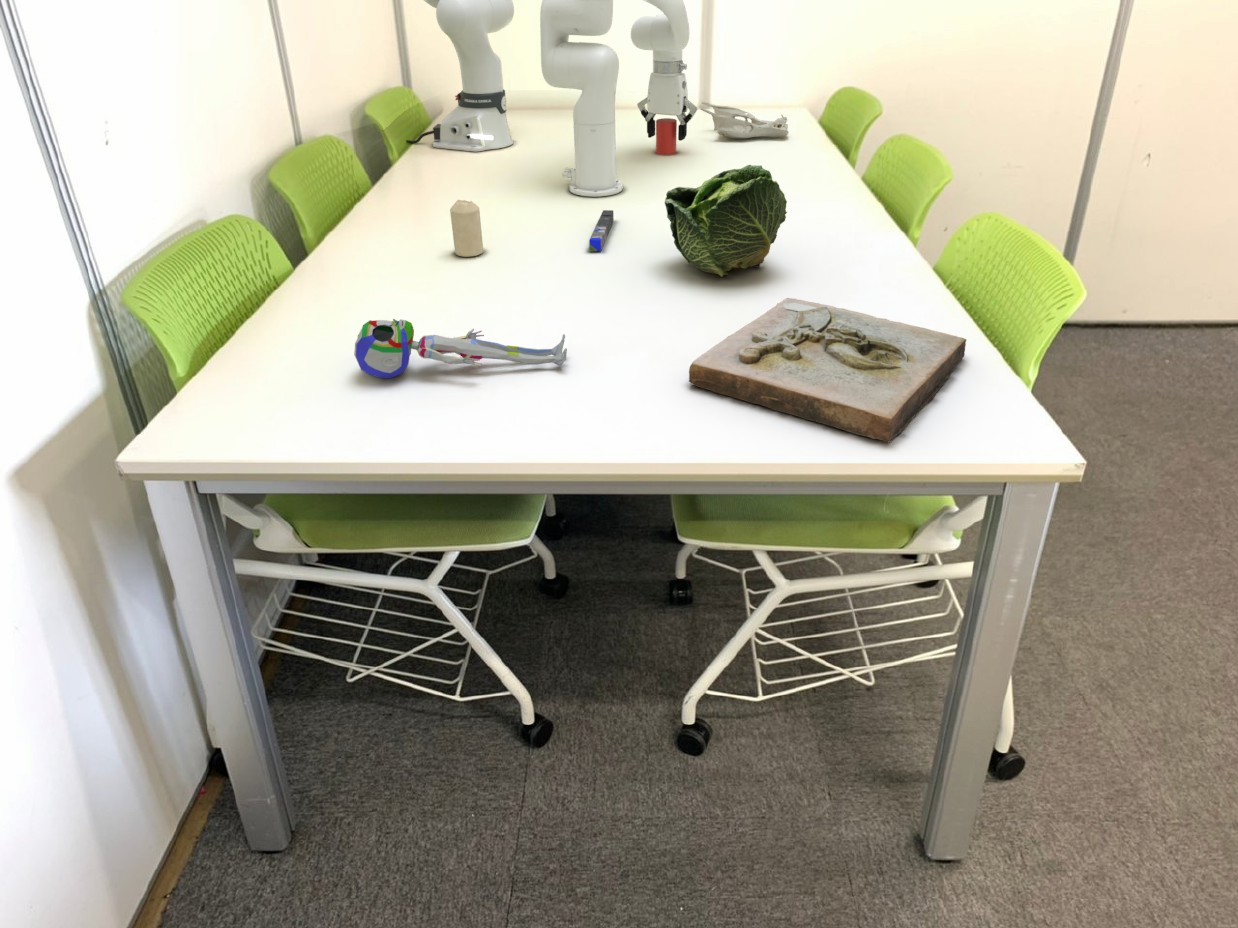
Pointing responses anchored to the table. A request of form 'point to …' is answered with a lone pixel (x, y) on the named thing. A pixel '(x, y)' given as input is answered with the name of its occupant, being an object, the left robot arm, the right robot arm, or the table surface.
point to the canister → (666, 136)
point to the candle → (466, 228)
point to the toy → (435, 349)
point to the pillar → (601, 230)
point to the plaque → (832, 366)
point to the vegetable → (727, 219)
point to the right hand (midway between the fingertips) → (666, 137)
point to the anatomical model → (744, 123)
